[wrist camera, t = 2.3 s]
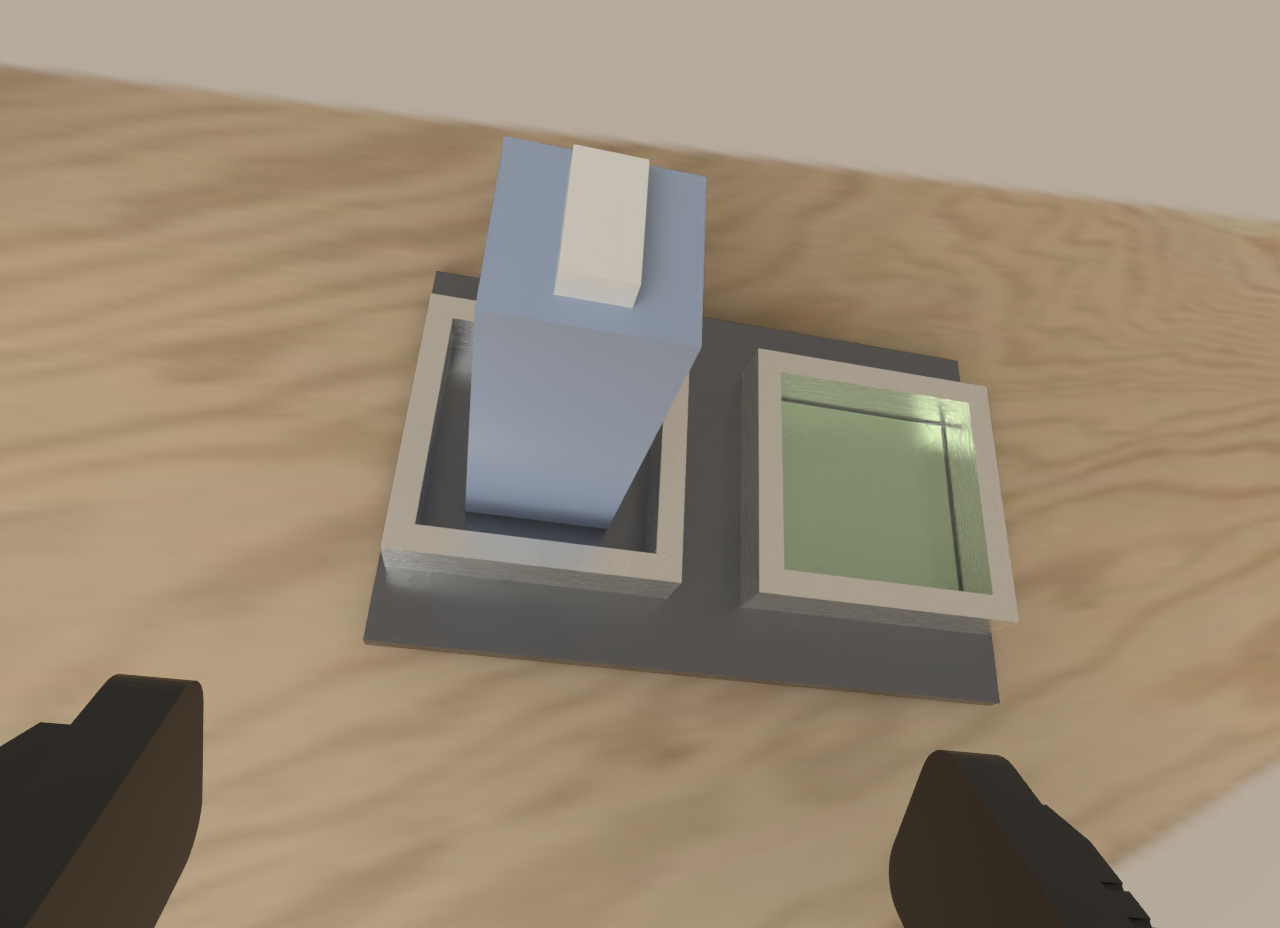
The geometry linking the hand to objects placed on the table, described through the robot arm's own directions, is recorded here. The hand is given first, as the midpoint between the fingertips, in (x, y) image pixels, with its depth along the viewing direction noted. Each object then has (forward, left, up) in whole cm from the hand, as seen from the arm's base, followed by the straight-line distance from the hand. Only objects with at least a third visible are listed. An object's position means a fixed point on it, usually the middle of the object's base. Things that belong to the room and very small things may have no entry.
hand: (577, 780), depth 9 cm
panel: (+5, +11, -15) cm, 20 cm away
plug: (0, +11, -15) cm, 18 cm away
